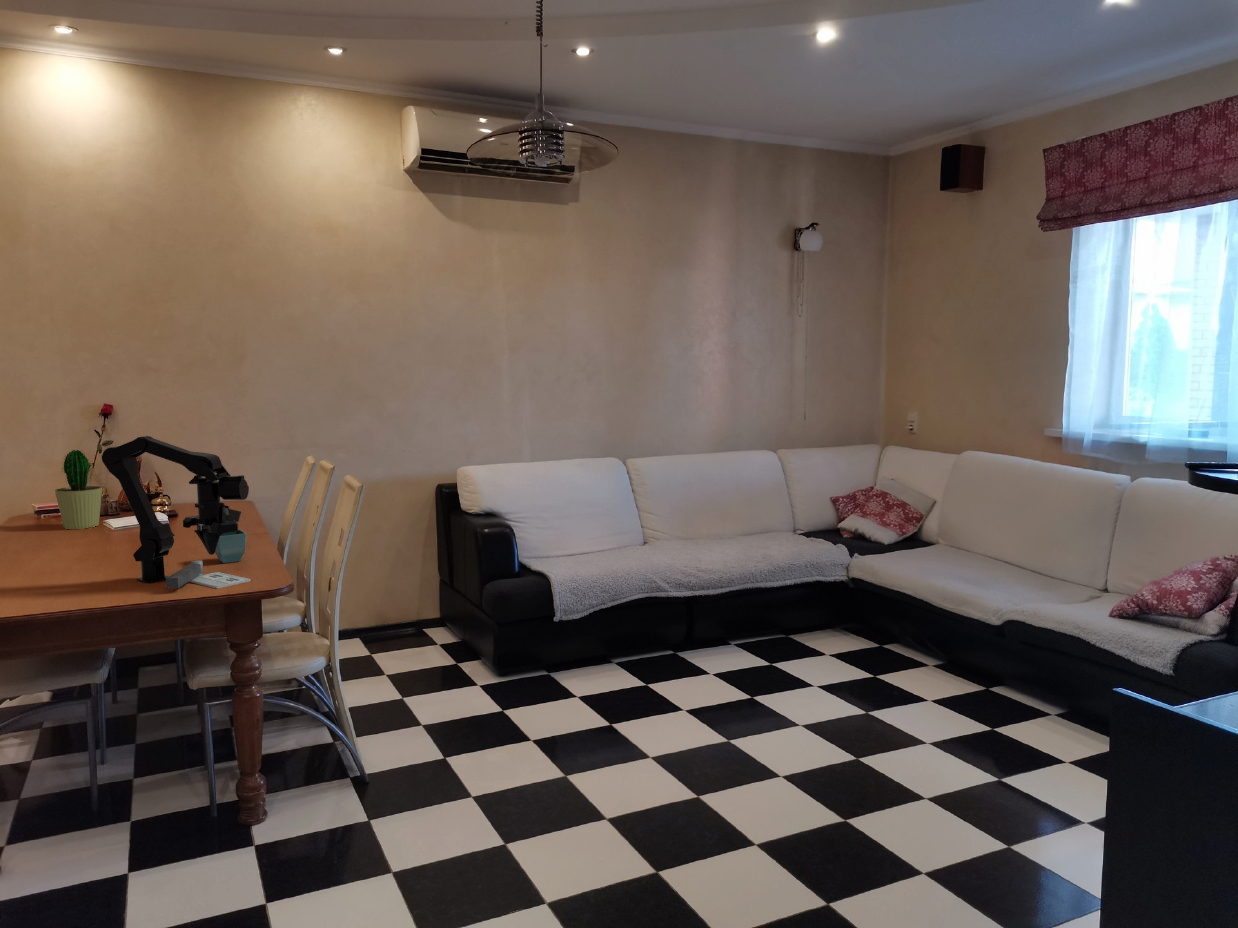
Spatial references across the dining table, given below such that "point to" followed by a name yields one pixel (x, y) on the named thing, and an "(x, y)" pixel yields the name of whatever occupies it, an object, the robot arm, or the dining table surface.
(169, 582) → the bar
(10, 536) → the dining table surface
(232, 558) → the flower pot
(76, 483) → the potted cactus
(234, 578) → the label board
